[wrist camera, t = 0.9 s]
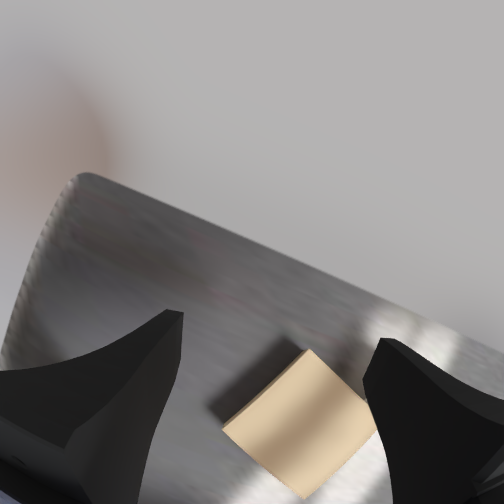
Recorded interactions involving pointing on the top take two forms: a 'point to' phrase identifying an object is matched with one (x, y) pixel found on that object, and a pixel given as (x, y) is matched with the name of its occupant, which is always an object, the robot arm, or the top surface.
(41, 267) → the top surface
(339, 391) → the oak block
